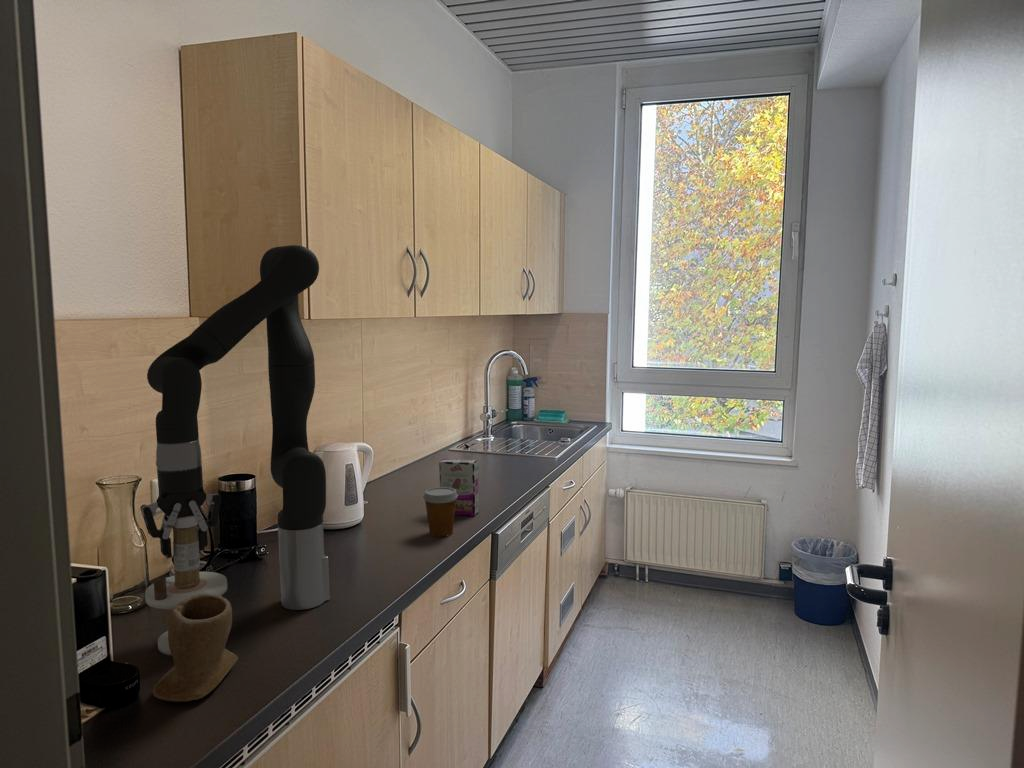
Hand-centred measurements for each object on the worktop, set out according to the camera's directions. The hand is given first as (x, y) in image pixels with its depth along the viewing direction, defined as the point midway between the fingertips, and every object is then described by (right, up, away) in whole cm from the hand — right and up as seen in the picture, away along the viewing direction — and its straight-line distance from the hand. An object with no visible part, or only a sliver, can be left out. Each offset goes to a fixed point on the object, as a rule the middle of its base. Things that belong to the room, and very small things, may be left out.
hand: (185, 552), depth 132 cm
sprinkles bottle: (0, -6, +1) cm, 6 cm away
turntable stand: (0, -17, +2) cm, 17 cm away
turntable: (0, -8, +1) cm, 8 cm away
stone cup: (+9, -19, -13) cm, 25 cm away
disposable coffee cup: (+42, -10, +64) cm, 77 cm away
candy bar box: (+45, -8, +83) cm, 95 cm away
